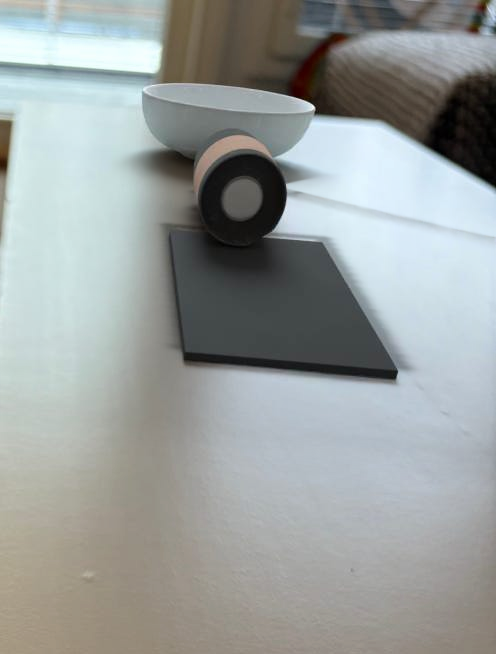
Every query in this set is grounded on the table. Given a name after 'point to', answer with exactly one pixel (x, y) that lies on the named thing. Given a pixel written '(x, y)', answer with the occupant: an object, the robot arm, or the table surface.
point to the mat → (271, 307)
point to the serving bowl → (223, 115)
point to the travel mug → (238, 187)
